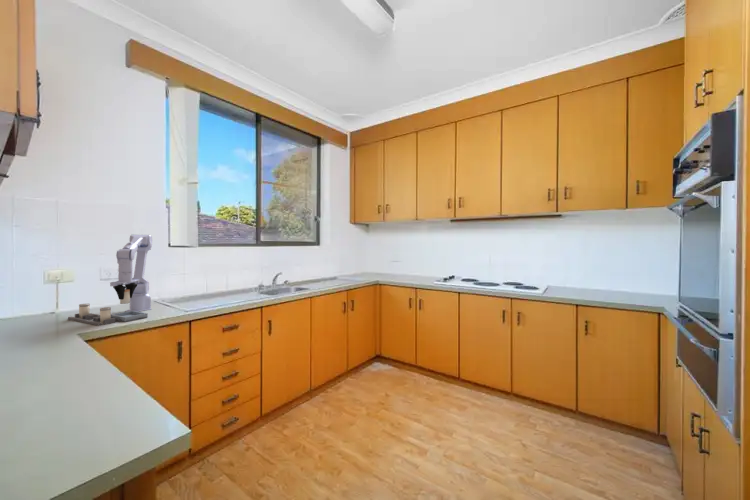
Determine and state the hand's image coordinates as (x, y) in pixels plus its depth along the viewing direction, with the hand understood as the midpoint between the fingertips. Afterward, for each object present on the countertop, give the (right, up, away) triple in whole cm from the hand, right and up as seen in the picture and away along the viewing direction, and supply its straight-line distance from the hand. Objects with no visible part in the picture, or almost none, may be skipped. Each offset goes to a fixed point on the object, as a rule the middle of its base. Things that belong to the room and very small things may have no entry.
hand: (125, 298), depth 167 cm
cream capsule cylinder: (-19, -10, -2) cm, 22 cm away
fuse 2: (-3, -10, -9) cm, 14 cm away
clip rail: (-11, -10, -6) cm, 16 cm away
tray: (+2, -10, 0) cm, 10 cm away
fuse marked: (0, -2, 0) cm, 2 cm away
